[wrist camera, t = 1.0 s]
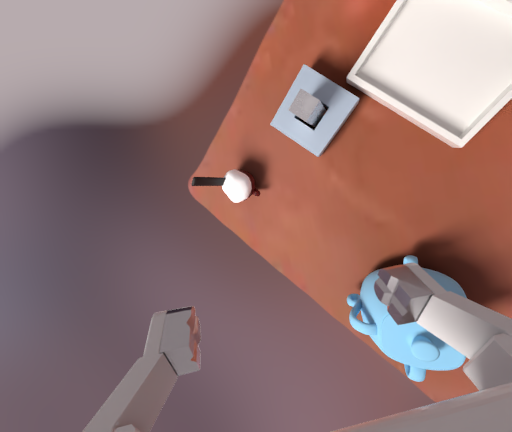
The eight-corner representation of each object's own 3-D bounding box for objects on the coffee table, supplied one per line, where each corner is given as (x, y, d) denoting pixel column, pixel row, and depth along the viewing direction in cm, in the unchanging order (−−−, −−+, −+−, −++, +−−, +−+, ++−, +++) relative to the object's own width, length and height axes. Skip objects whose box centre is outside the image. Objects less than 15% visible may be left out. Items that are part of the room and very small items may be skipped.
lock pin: (312, 102, 39) (300, 88, 30) (327, 111, 39) (319, 100, 29) (302, 118, 41) (288, 110, 31) (316, 127, 40) (305, 121, 31)
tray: (421, -31, 30) (428, -49, 28) (560, 38, 28) (583, 27, 25) (346, 82, 37) (346, 77, 34) (453, 147, 34) (461, 147, 31)
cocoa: (268, 188, 47) (248, 201, 36) (248, 207, 50) (224, 224, 39) (237, 154, 47) (208, 157, 36) (219, 175, 50) (187, 184, 39)
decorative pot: (393, 342, 46) (408, 412, 34) (339, 282, 47) (336, 330, 35) (481, 309, 39) (541, 383, 27) (416, 238, 39) (446, 280, 27)
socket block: (308, 71, 38) (304, 64, 35) (358, 102, 37) (359, 98, 33) (276, 126, 43) (270, 124, 39) (320, 155, 41) (317, 156, 38)
